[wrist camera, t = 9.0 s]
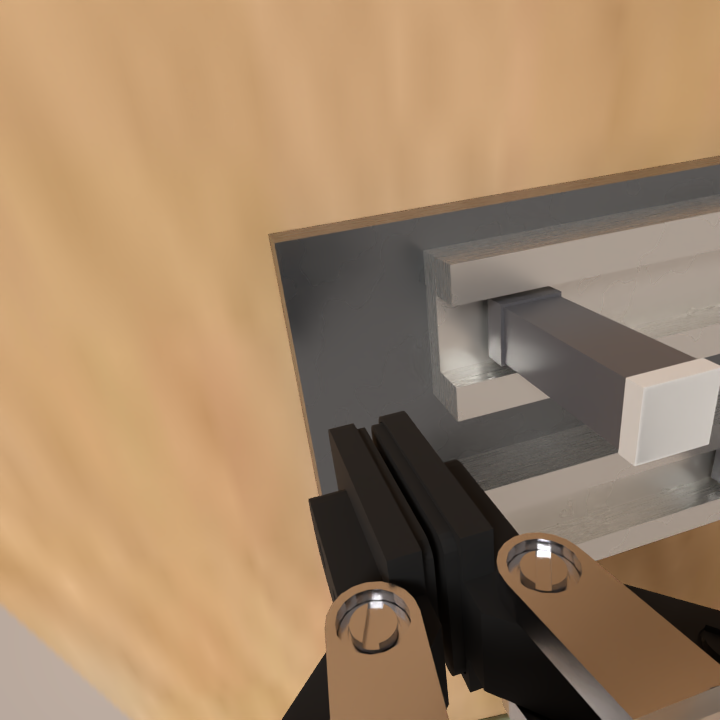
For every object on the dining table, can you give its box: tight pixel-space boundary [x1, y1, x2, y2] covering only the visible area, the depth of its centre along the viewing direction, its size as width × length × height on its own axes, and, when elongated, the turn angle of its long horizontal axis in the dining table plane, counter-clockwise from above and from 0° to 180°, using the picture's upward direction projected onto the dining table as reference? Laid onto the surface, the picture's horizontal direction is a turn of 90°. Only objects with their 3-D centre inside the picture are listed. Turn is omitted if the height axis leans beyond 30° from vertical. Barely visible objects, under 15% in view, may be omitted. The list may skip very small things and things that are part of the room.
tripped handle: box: [488, 286, 720, 466], centre depth 14 cm, size 2×2×6 cm
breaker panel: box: [268, 156, 720, 561], centre depth 20 cm, size 15×24×4 cm, turn 98°
